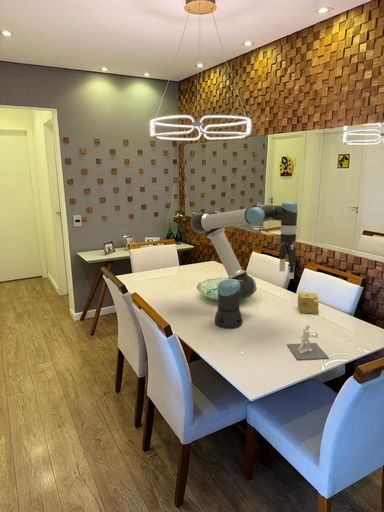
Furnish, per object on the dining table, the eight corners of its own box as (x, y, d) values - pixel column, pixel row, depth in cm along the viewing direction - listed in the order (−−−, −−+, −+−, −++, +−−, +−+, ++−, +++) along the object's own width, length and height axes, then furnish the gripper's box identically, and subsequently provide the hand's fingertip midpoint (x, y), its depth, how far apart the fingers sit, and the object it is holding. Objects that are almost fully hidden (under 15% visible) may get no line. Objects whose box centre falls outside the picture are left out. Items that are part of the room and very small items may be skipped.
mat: (297, 360, 152) (297, 359, 152) (286, 345, 166) (286, 344, 166) (328, 358, 153) (329, 357, 153) (315, 344, 167) (315, 342, 167)
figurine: (295, 350, 159) (296, 326, 157) (309, 345, 164) (310, 321, 161) (303, 355, 155) (305, 329, 153) (317, 349, 160) (319, 325, 157)
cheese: (318, 315, 201) (319, 298, 199) (298, 313, 204) (299, 297, 201) (315, 308, 211) (316, 292, 209) (297, 307, 213) (298, 291, 211)
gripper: (305, 237, 163) (302, 281, 167) (287, 229, 187) (285, 268, 192) (289, 237, 162) (286, 282, 167) (273, 229, 187) (272, 268, 191)
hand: (286, 274), depth 179 cm, fingers open, 13 cm apart
